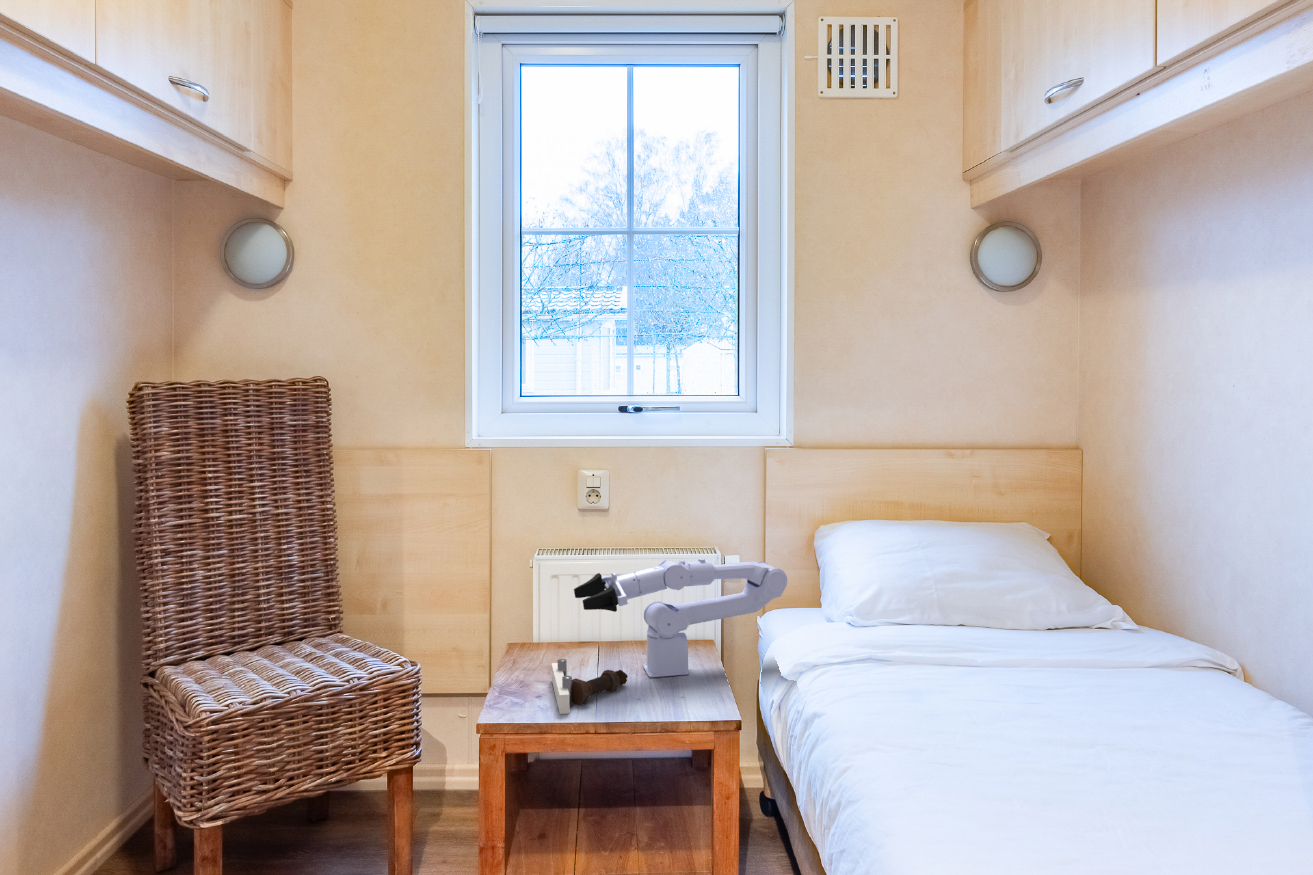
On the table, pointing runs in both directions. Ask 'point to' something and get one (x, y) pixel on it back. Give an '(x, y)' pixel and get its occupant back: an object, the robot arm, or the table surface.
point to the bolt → (596, 685)
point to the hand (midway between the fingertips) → (578, 599)
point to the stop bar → (562, 686)
